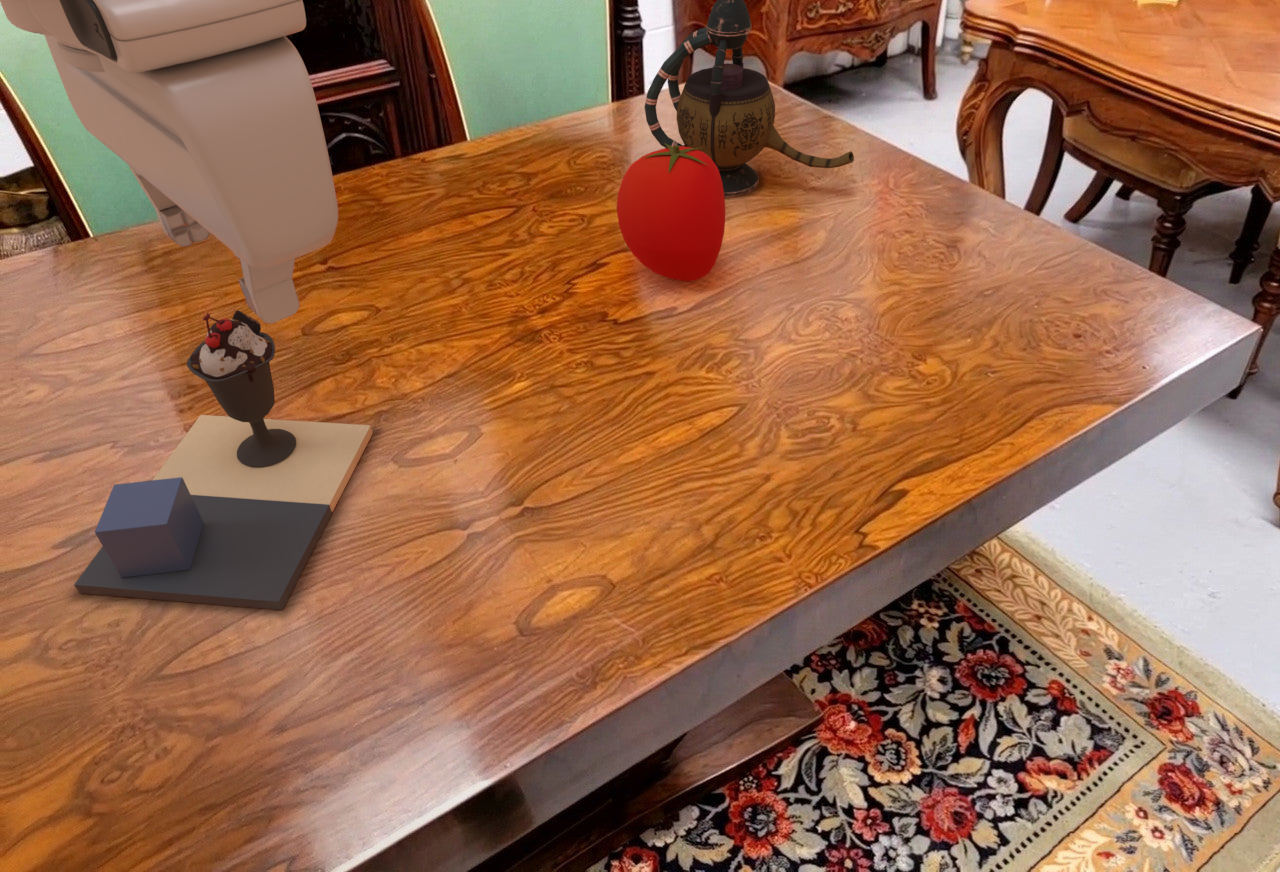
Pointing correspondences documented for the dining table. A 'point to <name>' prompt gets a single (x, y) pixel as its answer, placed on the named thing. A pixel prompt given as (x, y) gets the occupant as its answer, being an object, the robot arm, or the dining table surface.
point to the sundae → (243, 384)
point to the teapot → (725, 103)
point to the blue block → (150, 527)
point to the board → (246, 514)
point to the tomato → (673, 212)
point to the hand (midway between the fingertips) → (230, 273)
